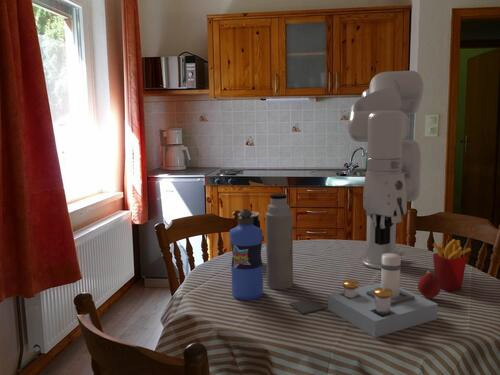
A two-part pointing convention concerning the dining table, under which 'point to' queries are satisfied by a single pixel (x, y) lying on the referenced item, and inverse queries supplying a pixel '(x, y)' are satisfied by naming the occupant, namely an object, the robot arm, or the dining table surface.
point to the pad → (307, 306)
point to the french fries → (450, 265)
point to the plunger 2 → (383, 301)
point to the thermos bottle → (279, 243)
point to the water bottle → (246, 258)
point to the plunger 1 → (350, 289)
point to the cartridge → (391, 273)
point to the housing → (402, 316)
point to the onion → (429, 286)
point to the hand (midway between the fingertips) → (382, 243)
